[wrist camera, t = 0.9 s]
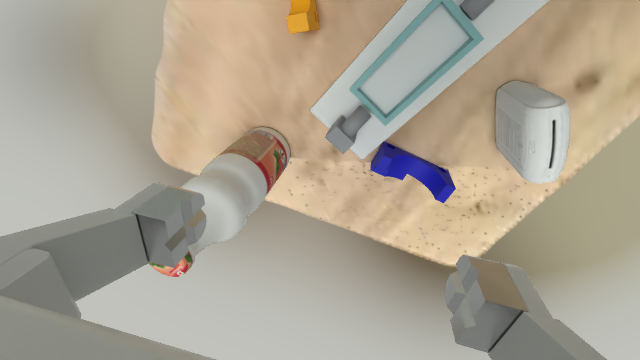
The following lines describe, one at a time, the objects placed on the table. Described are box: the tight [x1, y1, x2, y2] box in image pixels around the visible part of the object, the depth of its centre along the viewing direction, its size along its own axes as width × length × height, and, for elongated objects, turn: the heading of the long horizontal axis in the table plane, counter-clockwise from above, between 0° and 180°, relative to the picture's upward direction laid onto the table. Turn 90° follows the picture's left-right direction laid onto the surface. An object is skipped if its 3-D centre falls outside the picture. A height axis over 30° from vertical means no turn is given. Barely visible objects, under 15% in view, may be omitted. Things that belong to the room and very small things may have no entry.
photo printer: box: [495, 81, 570, 184], centre depth 34 cm, size 10×4×12 cm, turn 16°
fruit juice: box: [148, 127, 290, 277], centre depth 39 cm, size 9×9×28 cm
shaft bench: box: [310, 0, 549, 160], centre depth 36 cm, size 30×12×7 cm, turn 139°
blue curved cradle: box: [370, 142, 456, 203], centre depth 44 cm, size 12×4×6 cm, turn 68°
